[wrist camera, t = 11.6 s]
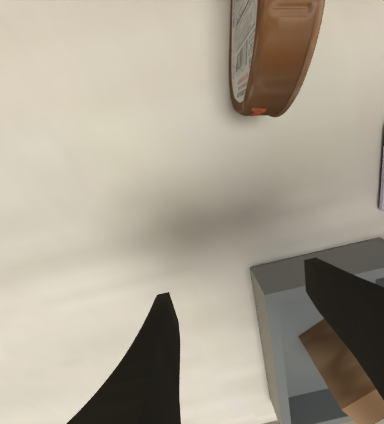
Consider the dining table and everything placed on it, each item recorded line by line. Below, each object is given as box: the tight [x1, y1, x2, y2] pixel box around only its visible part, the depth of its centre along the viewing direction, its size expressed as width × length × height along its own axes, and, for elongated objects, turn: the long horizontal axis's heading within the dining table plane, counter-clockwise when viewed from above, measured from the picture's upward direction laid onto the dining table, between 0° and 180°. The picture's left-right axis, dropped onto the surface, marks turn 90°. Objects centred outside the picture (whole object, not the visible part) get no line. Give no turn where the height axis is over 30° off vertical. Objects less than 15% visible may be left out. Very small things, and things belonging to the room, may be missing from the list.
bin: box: [250, 238, 384, 424], centre depth 25 cm, size 13×20×4 cm, turn 13°
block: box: [298, 319, 384, 424], centre depth 22 cm, size 4×4×7 cm
